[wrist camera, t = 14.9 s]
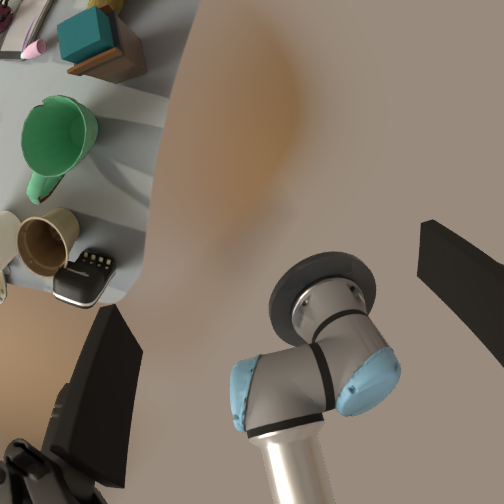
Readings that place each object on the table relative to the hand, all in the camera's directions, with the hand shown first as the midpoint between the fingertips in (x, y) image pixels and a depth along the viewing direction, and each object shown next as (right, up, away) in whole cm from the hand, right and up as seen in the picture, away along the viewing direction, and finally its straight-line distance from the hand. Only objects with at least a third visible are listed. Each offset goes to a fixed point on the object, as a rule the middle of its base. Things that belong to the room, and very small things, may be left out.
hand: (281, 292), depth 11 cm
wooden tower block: (-18, +28, +19) cm, 38 cm away
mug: (-27, +17, +23) cm, 39 cm away
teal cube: (-16, +22, +8) cm, 29 cm away
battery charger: (-26, +1, +31) cm, 41 cm away
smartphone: (-37, +39, +11) cm, 54 cm away
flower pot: (-31, +6, +28) cm, 43 cm away
